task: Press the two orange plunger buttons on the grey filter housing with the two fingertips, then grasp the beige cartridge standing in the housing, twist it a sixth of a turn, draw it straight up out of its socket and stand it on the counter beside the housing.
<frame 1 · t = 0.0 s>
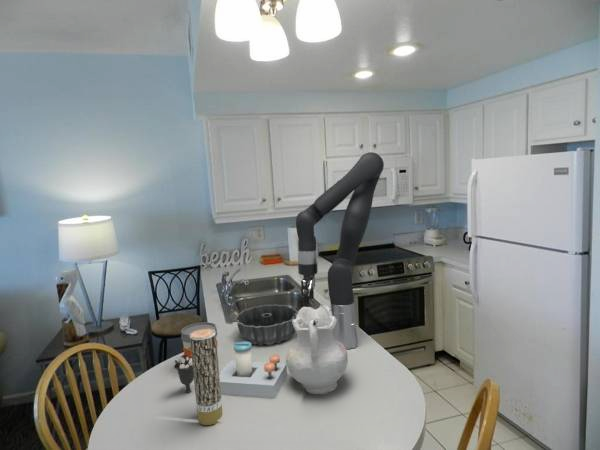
hand: (308, 301, 155), 17 cm above the counter, tool pointing down, fingers open, 8 cm apart
bundt pan: (268, 337, 167), on the counter
plunger b: (269, 371, 121), point 7 cm above the counter, slide at 0.0 cm
sundae: (188, 395, 124), on the counter
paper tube: (210, 419, 110), on the counter
plunger a: (275, 362, 126), point 7 cm above the counter, slide at 0.0 cm
ceramic pitcher: (319, 387, 124), on the counter
cartridge: (245, 383, 127), point 1 cm above the counter, touching housing
reusable coffee cup: (202, 369, 141), on the counter
housing: (251, 387, 126), on the counter
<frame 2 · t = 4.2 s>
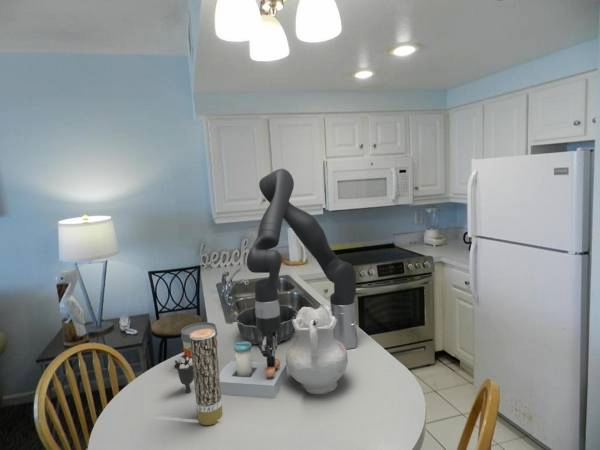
hand: (271, 366, 124), 7 cm above the counter, tool pointing down, fingers closed
plunger b: (270, 375, 121), point 6 cm above the counter, slide at -1.4 cm, touching gripper
plunger a: (275, 367, 126), point 6 cm above the counter, slide at -1.4 cm, touching gripper
everything else where it was.
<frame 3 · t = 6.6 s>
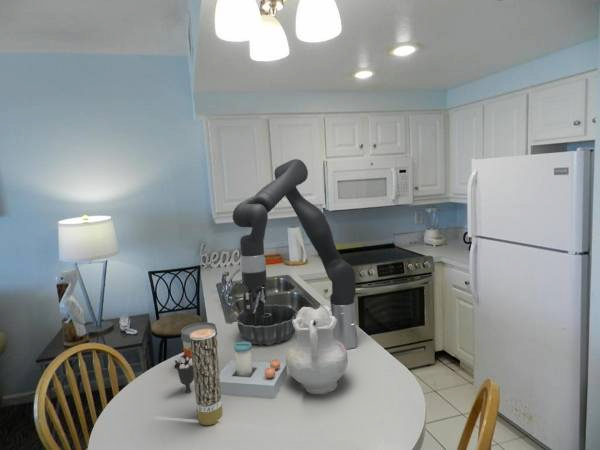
hand: (257, 319, 122), 23 cm above the counter, tool pointing down, fingers open, 8 cm apart
plunger b: (270, 376, 121), point 6 cm above the counter, slide at -1.7 cm
plunger a: (275, 367, 126), point 6 cm above the counter, slide at -1.7 cm
everything else where it was.
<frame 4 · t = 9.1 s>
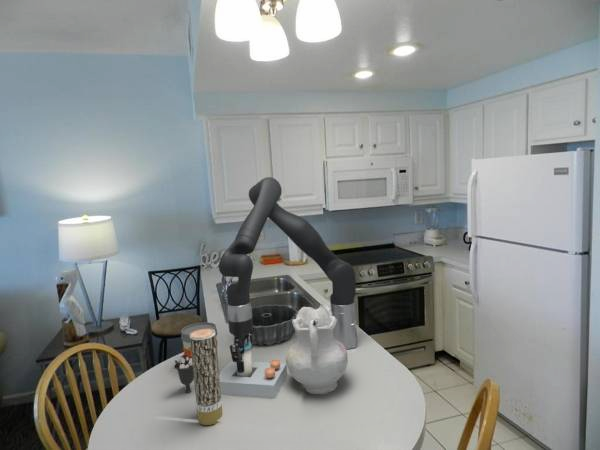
hand: (244, 367, 126), 6 cm above the counter, tool pointing down, fingers closed on cartridge, 5 cm apart
cartridge: (245, 383, 127), point 1 cm above the counter, touching gripper, housing
everything else where it was.
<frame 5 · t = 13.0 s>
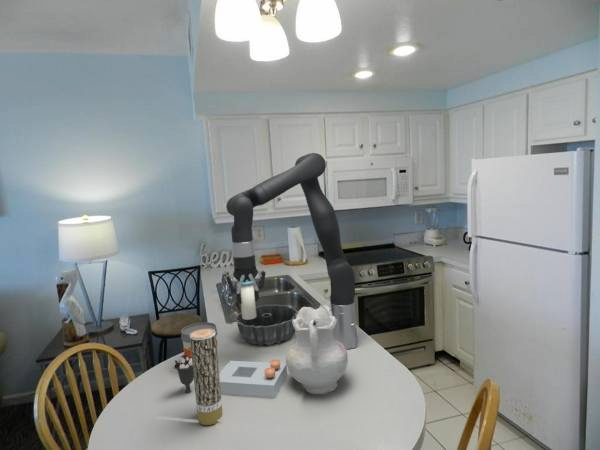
hand: (248, 302, 137), 24 cm above the counter, tool pointing down, fingers closed on cartridge, 5 cm apart
cartridge: (249, 317, 137), point 19 cm above the counter, touching gripper
everything else where it was.
when the fingers open (7 cm above the counter, at t = 16.8 s): cartridge drops 1 cm, on the counter.
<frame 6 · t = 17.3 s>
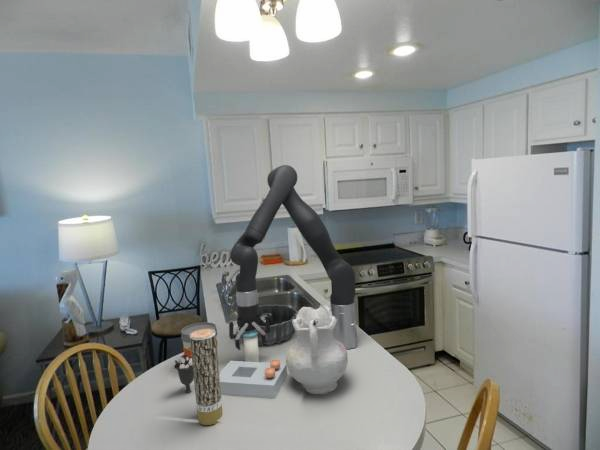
hand: (251, 346, 139), 8 cm above the counter, tool pointing down, fingers open, 8 cm apart
cartridge: (252, 367, 140), on the counter
everything else where it was.
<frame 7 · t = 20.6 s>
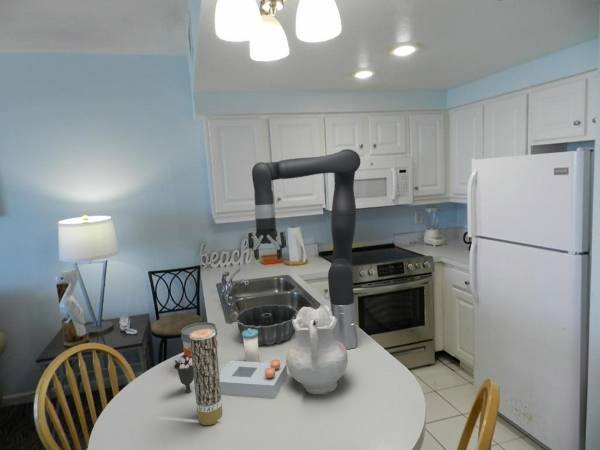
hand: (268, 259, 148), 36 cm above the counter, tool pointing down, fingers open, 8 cm apart
nothing on the counter moved.
at the end: plunger a slide at -1.7 cm; plunger b slide at -1.7 cm; cartridge inside the target area (0.0 cm from its centre), on the counter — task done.
